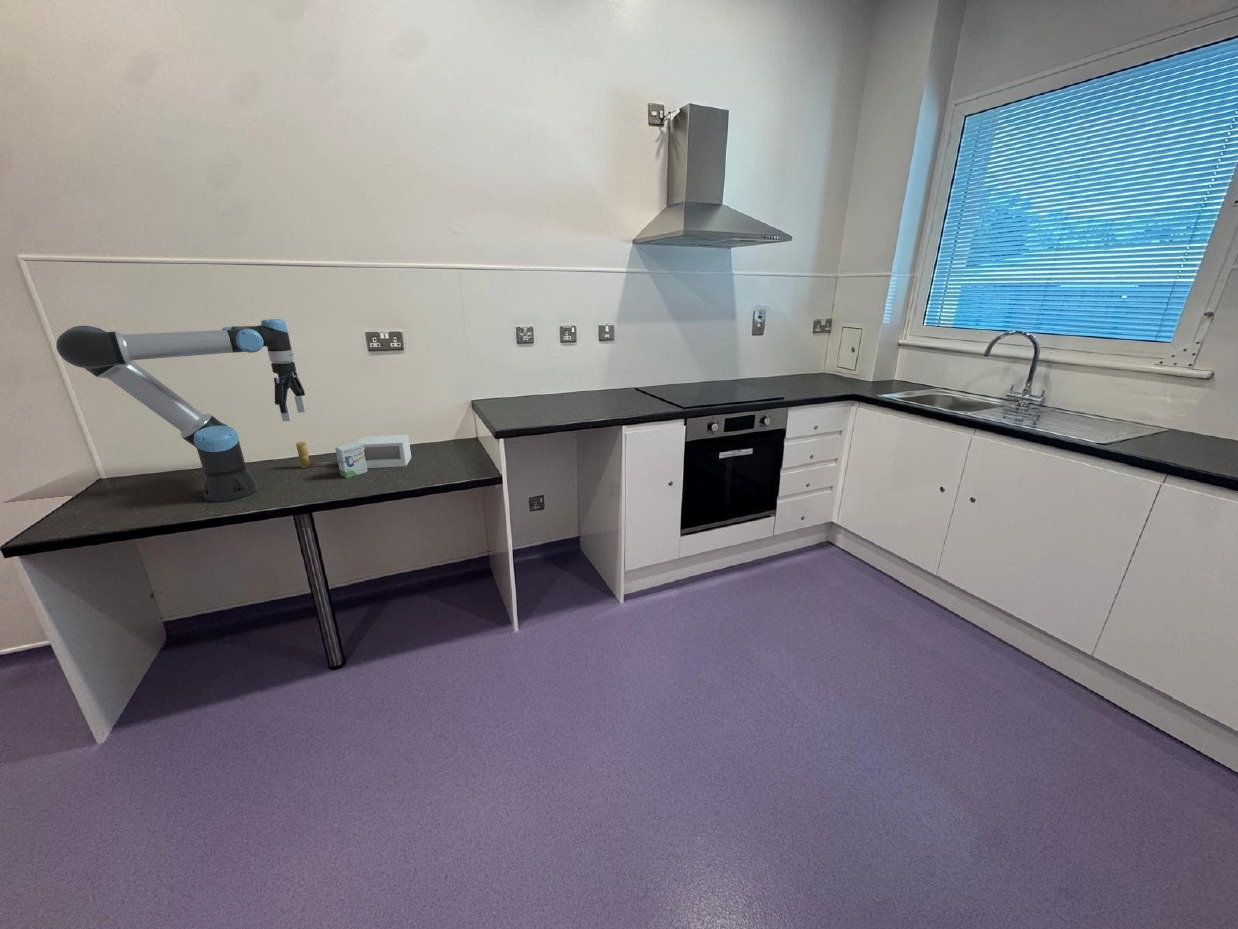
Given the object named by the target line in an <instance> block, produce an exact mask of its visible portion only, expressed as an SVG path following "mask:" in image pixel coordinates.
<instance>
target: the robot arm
mask: <svg viewBox="0 0 1238 929" xmlns="http://www.w3.org/2000/svg"><path fill="white" fill-rule="evenodd" d="M260 322H261V323H260V325H243V326H242V325H239V326H235V325H231V326H224V327H223V328H221V329H218V330H196V331H195V330H194V331H193V330H192V331H174V332H154V333H153V332H151V333H134V334H123V333H120V332H119V331H106V330H103V329H102V328H99V327H96V326H92V325H76V326H73V327H71V328H68V329H67V330H65V331H64V332H63V333H61V334H60V335H59V336H58V338H57V340H56V347H55V348H56V351H57V353H58V355H59V356H60V357H61V358H62V359H63V360H64V361H66V362H67V363H68V364H71V365H72V366H75V367H79V368H81V369H85V371H87V372H89V373H91V375H93V376H95V377H96V378H99V379H102V378H103V379H108V380H110V381H111V382H112V383H113V384H114V385H116V386H118V387H119V388H120V389H122V390H123V392H126V393H127V394H129V395H130V396H132V397H133V398H134V399H136V400H137V401H139V402H140V403H141V404H142V405H144V406H145V407H147V409H149V410H151V411H152V412H153V413H155V414H156V415H157V416H159V417H161V418H162V419H163V420H165V421H166V422H168V423H169V424H171V426H173V427H174V428H176V429H177V430H179V431H180V438H182V439H183V440H184V441H186V442H187V443H189V444H190V445H192V446H193V447H194V448H195V449H196V452H197V453H198V457H199V460H200V464H201V467H202V471H203V473H204V476H205V478H204V486H203V497H204V499H205V501H208V502H215V503H216V502H218V503H219V502H228V501H233V500H238V499H242V498H245V497H248V496H250V495H252V494H254V493H255V492H257V491H258V490H259V488H258V487H259V486H258V482H256V480H255V478H254V477H253V476H252V474H251V473H250V472H249V470H248V469H247V466H246V463H245V458H244V454H243V451H242V447H241V442H240V440H239V434H238V432H237V430H236V429H235V428H234V427H231V426H229V425H228V424H226V423H224V422H222V421H220V420H219V419H218V418H216V417H214V415H212V414H211V413H202V412H201V411H199V410H198V409H197V408H196V407H194V406H193V405H191V404H190V403H189V402H188V401H186V400H185V399H184V398H183V397H181V396H180V395H178V394H177V393H175V391H173V390H172V389H171V388H169V387H168V386H167V385H165V384H164V383H163V382H161V381H160V380H158V379H157V378H156V377H155V376H153V375H152V374H151V373H149V372H148V371H147V370H146V369H144V368H143V367H142V366H140V365H139V364H138V363H136V362H135V361H141V360H151V359H153V360H154V359H165V358H166V359H167V358H178V357H182V358H183V357H192V356H193V357H194V356H206V355H219V354H232V353H233V354H234V353H249V354H250V353H251V354H252V353H257V352H260V351H261V350H262V349H263V348H264V347H266V348H267V352H268V358H269V362H271V365H270V367H271V370H272V373H273V374H276V375H277V377H273V382H274V405H277V406H278V407H279V411H280V416H281V421H282V422H291V421H292V417H291V413H290V409H289V405H288V403H287V398H288V392H289V389H290V390H291V391H292V393H293V394H294V395H295V396H294V401H295V406H296V410H297V413H299V414H300V413H306V411H307V409H306V406H305V401H304V397H303V396H306V393H305V389H304V387H303V385H302V383H301V381H300V379H299V376H298V373H297V369H296V363H295V361H294V355H295V353H294V352H293V350H292V345H291V340H290V335H289V331H288V328H287V327H288V326H287V323H286V321H285V320H283V319H280V318H277V319H276V318H275V319H274V318H273V319H272V318H270V319H262V320H261V321H260Z"/></svg>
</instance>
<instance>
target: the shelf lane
mask: <svg viewBox="0 0 1238 929" xmlns="http://www.w3.org/2000/svg"><path fill="white" fill-rule="evenodd" d="M356 442H357V443H360V444H362V445H363V450H364V455H365V460H366V466H367V469H377V468H394V467H395V468H397V467H398V468H399V467H401V468H402V467H407V465H409V462H410V461H411V459H412V453H411V445H410V438H409V434H396V435H395V434H394V435H392V434H391V435H375V436H374V435H371V436H369V435H368V436H361V437H359V439H358V440H357V441H356Z"/></svg>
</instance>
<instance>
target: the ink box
mask: <svg viewBox="0 0 1238 929" xmlns="http://www.w3.org/2000/svg"><path fill="white" fill-rule="evenodd" d="M335 454H336V458H337V462H338V469H339V473H340V476H341V477H343V478H346V479H348V478H352V477H355V476H359V475H362V474H365V473H367V472H368V468H367V466H366V454H365V449H364V447H363V445H362V444H360V443H357V441H356V442H352V443H347V444H343V445H339V446H336V447H335Z"/></svg>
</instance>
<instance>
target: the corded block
mask: <svg viewBox="0 0 1238 929" xmlns="http://www.w3.org/2000/svg"><path fill="white" fill-rule="evenodd" d="M295 445H296V450H297V453H298V454H297V455H298V459H299V463H300V467H301V469H307V468H310V467H311V466H315V465H336V464H338V461H329V462H327V461H326V462H311V461H310V457H309V453H308V448H307V444H306V442H305V441H299V442H296V443H295Z"/></svg>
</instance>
